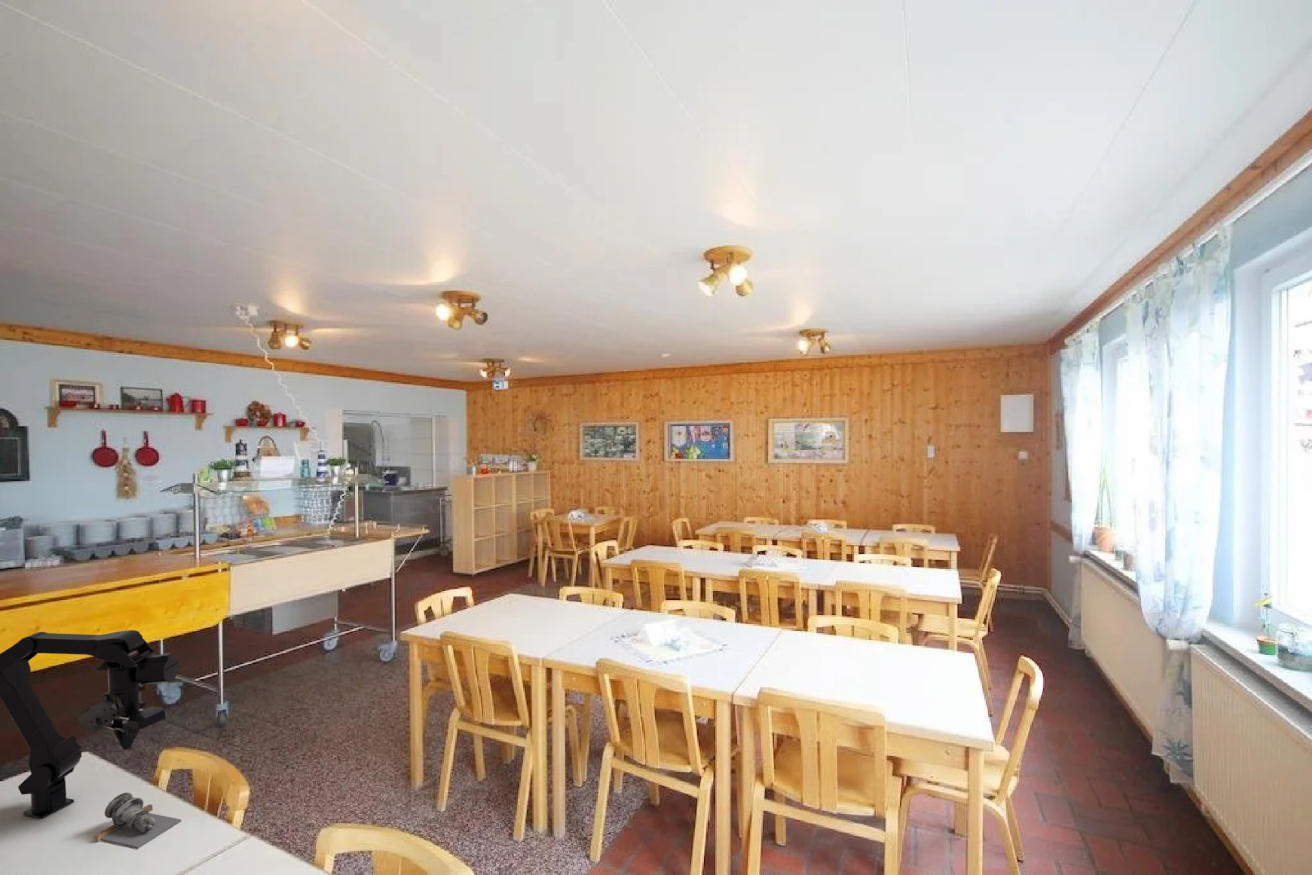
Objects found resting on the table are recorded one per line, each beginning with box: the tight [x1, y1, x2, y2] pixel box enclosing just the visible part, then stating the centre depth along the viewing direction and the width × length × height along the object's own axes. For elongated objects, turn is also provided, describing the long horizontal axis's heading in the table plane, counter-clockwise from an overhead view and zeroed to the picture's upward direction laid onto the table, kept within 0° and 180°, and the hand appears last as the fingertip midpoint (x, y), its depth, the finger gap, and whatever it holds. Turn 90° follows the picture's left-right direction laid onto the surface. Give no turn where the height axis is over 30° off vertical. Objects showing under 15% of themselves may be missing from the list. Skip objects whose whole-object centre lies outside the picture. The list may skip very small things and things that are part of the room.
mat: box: [100, 812, 182, 849], centre depth 132 cm, size 11×9×1 cm
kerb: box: [94, 803, 154, 843], centre depth 134 cm, size 1×11×1 cm, turn 165°
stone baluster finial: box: [104, 792, 155, 832], centre depth 132 cm, size 6×6×12 cm
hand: (126, 748), depth 143 cm, fingers closed
